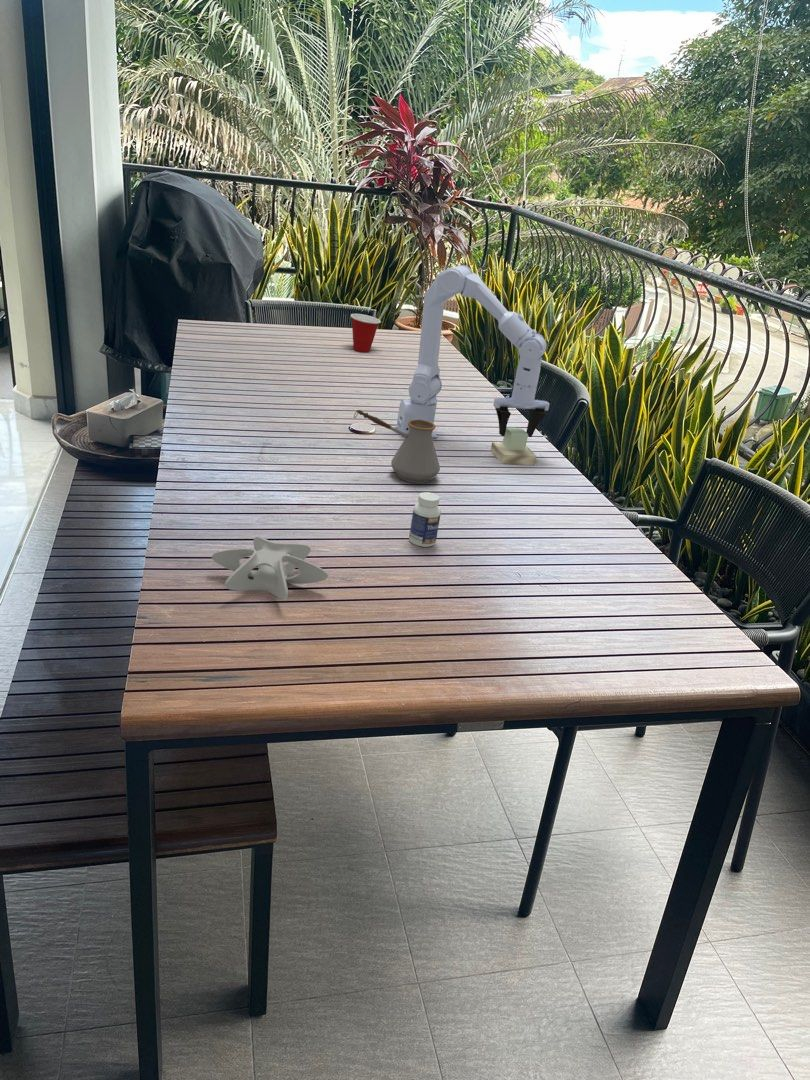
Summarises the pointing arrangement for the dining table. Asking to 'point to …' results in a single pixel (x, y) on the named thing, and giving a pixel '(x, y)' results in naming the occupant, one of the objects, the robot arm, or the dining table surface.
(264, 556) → the sculpture
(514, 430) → the sage cube
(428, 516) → the pill bottle
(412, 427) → the coffee pot
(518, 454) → the beige block
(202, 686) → the dining table surface
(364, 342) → the plastic cup
